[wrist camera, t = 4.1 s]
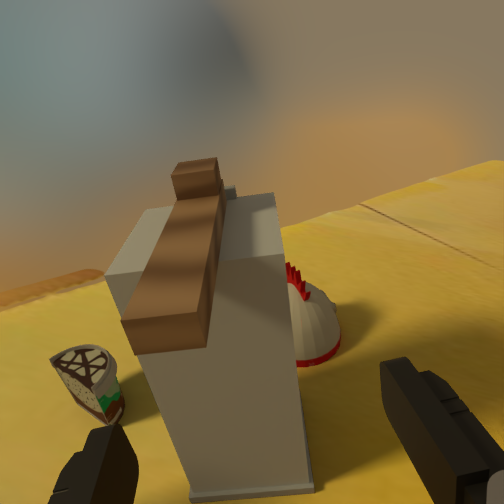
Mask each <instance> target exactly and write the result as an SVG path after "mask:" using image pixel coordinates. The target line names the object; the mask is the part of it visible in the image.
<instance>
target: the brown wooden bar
mask: <svg viewBox="0 0 504 504" xmlns="http://www.w3.org/2000/svg"><path fill="white" fill-rule="evenodd" d="M171 178H172V181H173V186H174V189H175V193H176V197H177V201H176V203H175V205H174V207H173V209H172V211H171V213H170V215H169V218H168V220H167V222H166V224H165V226H164V228H163V230H162V233H161V235H160V237H159V239H158V241H157V243H156V245H155V248H154V250H153V252H152V254H151V256H150V258H149V260H148V263H147V265H146V267H145V269H144V271H143V273H142V275H141V277H140V280H139V282H138V284H137V286H136V288H135V290H134V292H133V295H132V297H131V299H130V301H129V303H128V305H127V307H126V310H125V312H124V314H123V316H122V318H121V320H120V321H121V323H122V326H123V328H124V331H125V333H126V336H127V338H128V340H129V343H130V345H131V348H132V350H133V352H134V355H144V354H153V353H163V352H172V351H181V350H190V349H199V348H206V347H207V340H208V333H209V326H210V319H211V312H212V305H213V297H214V290H215V283H216V276H217V269H218V262H219V255H220V247H221V240H222V233H223V226H224V219H225V212H226V205H227V200H226V195H225V189H224V184H223V179H221V177H220V171H219V166H218V161H217V157H216V158H208V159H201V160H195V161H187V162H180V163H178V164H177V166H176V168H175V170H174V171H173V173H172V174H171Z"/></svg>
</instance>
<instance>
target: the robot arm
mask: <svg viewBox="0 0 504 504" xmlns="http://www.w3.org/2000/svg"><path fill="white" fill-rule="evenodd" d="M380 377H381V391H382V401H383V405H384V409H385V412H386V414H387V417H388V419H389V421H390V423H391V425H392V427H393V428H394V430H395V432H396V434H397V436H398V438H399V439H400V441H401V443H402V445H403V447H404V449H405V450H406V452H407V454H408V456H409V458H410V460H411V462H412V463H413V465H414V467H415V469H416V471H417V473H418V474H419V476H420V478H421V480H422V482H423V484H424V486H425V487H426V489H427V491H428V493H429V495H430V497H431V498H432V500H433V502H434V504H504V451H503V450H502V449H501V448H500V446H499V445H498V444H497V443H496V441H495V440H494V439H493V438H492V437H491V435H490V434H489V433H488V432H487V430H486V429H485V428H484V427H483V426H482V424H481V423H480V422H479V421H478V419H477V418H476V417H475V416H474V415H473V413H472V412H470V411H469V408H468V407H467V406H466V405H465V404H464V402H463V401H462V400H460V399H459V396H458V395H457V394H456V393H455V391H454V390H453V389H452V388H451V386H450V385H449V384H448V383H447V382H446V381H445V380H443V379H442V378H440V377H439V376H437V375H436V374H434V373H433V372H431V371H429V370H428V371H424V372H419V373H418V371H417V370H416V368H415V367H414V366H413V364H412V363H411V362H410V360H409V359H408V358H407V357H401V358H396V359H392V360H388V361H383V362H381V363H380ZM138 477H139V465H138V460H137V456H136V454H135V452H134V450H133V448H132V446H131V444H130V442H129V440H128V438H127V436H126V434H125V432H124V430H123V428H122V426H121V425H120V424H118V423H117V424H113V425H108V426H104V427H100V428H95V429H92V430H91V431H90V433H89V435H88V437H87V440H86V443H85V446H84V448H83V451H80V452H76V453H74V455H73V456H72V457H71V459H70V460H69V461H68V463H67V464H66V465H65V467H64V468H63V469H62V471H61V472H60V475H59V477H58V480H57V482H56V485H55V487H54V490H53V495H51V497H50V499H49V502H48V504H133V503H134V498H135V493H136V488H137V483H138Z"/></svg>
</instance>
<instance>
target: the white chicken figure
mask: <svg viewBox="0 0 504 504" xmlns="http://www.w3.org/2000/svg"><path fill="white" fill-rule="evenodd" d="M285 266H286V275H287V284H288V293H289V302H290V311H291V320H292V330H293V339H294V348H295V357H296V366H297V367H310V366H315V365H318V364H321V363H323V362H325V361H327V360H328V359H329V358H331V357H332V356H333V355H334V354H335V353H336V351H337V349H338V348H339V346H340V338H341V334H340V326H339V323H338V319H337V316H336V314H335V313H336V311H337V310H336V306H335V303H332V302H331V301H330V300H329V299H328V297H327V296H326V294H325V293H324V292H323V291H322V290H319V289H318V288H316V287H315V286H313V285H312V284H310V283H307V282H306V281H301V274H300V270H298V271H296V269H295V266H293V267H291V266H290V262H288V263H285Z"/></svg>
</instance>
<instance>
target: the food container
mask: <svg viewBox="0 0 504 504" xmlns="http://www.w3.org/2000/svg"><path fill="white" fill-rule="evenodd" d="M49 360H50V362H51V364H52V367H53V368H55V369H56V371H57V373H58V374H59V376H60V377H61V379H62V381H63V382H64V384H65V385H66V387H67V389H68V390H69V392H70V393H71V395H72V397H73V398H74V400H75V401H76V403H77V404H78V405H79V406H80V407H81V408H83V409H84V410H85V411H87V412H88V413H89V414H91V415H92V416H93V417H95V418H96V419H97V420H99V421H100V422H101V423H103V424H104V425H105V426H108V425H113V424H117V423H118V422H119V420H120V418H121V417H122V415H123V412H124V408H125V402H124V397H123V395H122V392H121V389H120V386H119V383H118V380H117V377H116V372H117V364H116V361H115V359H114V358H113V357H112V355H111V354H110V353H109V352H108V351H107V350H105V349H103V348H102V347H100V346H98V345H91V344H87V345H79V346H75V347H72V348H69V349H66V350H64V351H62V352H60V353H58V354H56V355H54V356H53V357H51V358H50V359H49Z"/></svg>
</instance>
